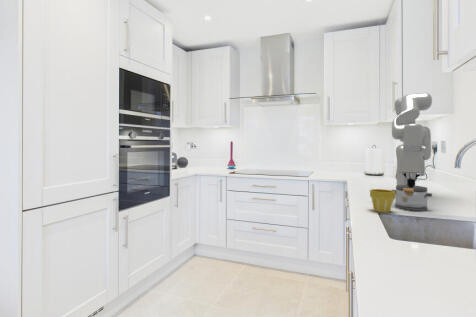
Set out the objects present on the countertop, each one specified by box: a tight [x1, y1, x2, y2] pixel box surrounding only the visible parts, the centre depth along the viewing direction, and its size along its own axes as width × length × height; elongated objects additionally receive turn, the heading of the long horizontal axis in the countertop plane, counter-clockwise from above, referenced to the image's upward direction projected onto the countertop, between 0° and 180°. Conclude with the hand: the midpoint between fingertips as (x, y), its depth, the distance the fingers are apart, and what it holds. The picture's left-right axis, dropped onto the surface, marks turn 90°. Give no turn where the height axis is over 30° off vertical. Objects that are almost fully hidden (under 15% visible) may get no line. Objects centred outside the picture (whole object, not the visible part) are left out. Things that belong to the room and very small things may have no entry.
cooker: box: [390, 188, 433, 212], centre depth 132 cm, size 14×17×9 cm
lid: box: [395, 184, 428, 192], centre depth 131 cm, size 16×13×1 cm
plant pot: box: [369, 188, 396, 214], centre depth 126 cm, size 10×10×10 cm
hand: (411, 187), depth 130 cm, fingers closed
